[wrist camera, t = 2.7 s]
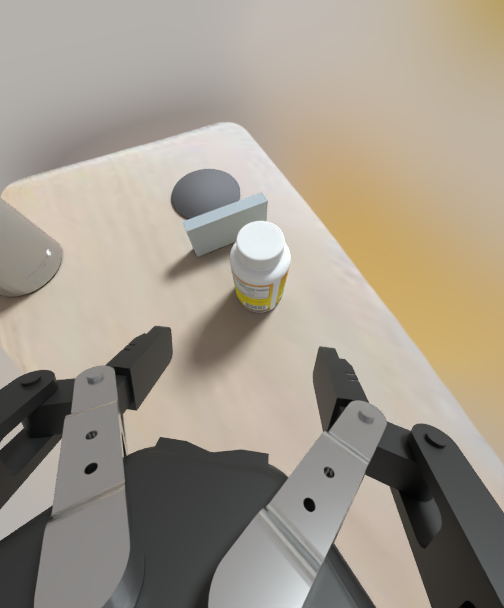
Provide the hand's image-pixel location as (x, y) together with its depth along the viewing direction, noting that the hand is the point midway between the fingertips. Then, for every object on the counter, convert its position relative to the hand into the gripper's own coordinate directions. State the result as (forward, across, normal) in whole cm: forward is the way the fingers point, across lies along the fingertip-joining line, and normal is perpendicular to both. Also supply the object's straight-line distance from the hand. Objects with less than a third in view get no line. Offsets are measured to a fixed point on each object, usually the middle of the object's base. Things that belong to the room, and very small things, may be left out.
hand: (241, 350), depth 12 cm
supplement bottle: (+16, 0, +3) cm, 16 cm away
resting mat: (+26, +10, -8) cm, 29 cm away
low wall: (+21, +5, -3) cm, 22 cm away
